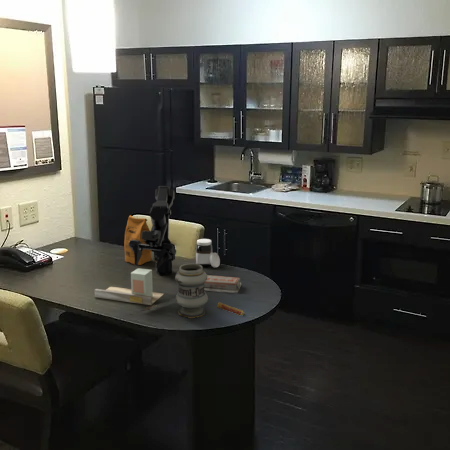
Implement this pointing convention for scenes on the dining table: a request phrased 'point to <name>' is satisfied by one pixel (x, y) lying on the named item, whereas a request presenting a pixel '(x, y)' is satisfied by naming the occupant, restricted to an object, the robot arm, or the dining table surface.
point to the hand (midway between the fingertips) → (146, 266)
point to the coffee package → (135, 233)
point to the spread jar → (206, 254)
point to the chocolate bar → (230, 309)
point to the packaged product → (222, 284)
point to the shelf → (127, 296)
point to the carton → (142, 282)
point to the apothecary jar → (191, 290)
